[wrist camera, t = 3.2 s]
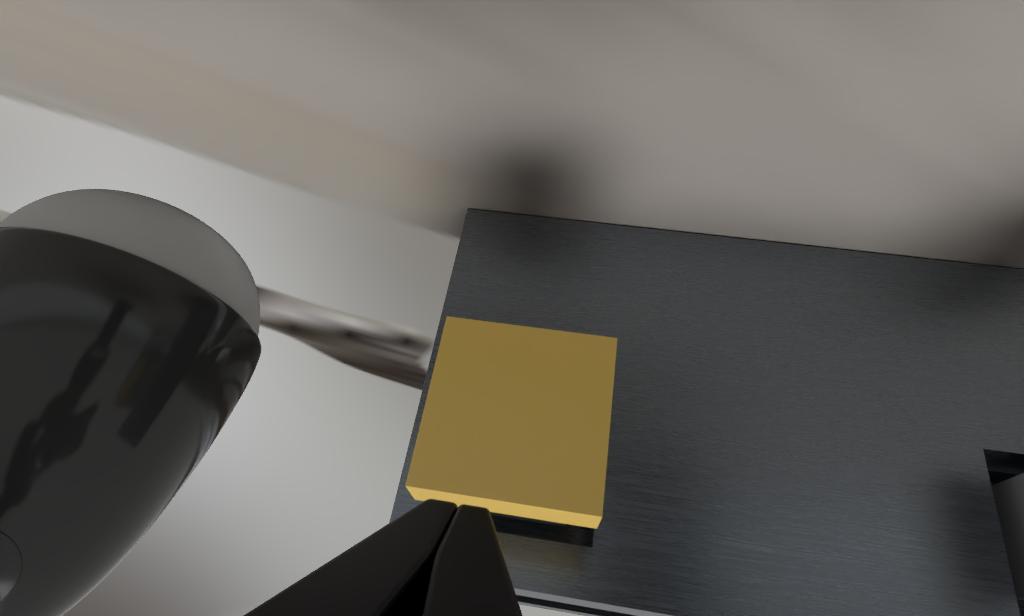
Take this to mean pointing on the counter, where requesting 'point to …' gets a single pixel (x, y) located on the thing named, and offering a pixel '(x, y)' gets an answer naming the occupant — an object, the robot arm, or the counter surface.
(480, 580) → the robot arm
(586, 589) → the button panel
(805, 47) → the counter surface
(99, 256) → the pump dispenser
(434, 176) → the counter surface
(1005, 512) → the ivory button
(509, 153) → the counter surface
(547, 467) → the amber button
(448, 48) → the counter surface
